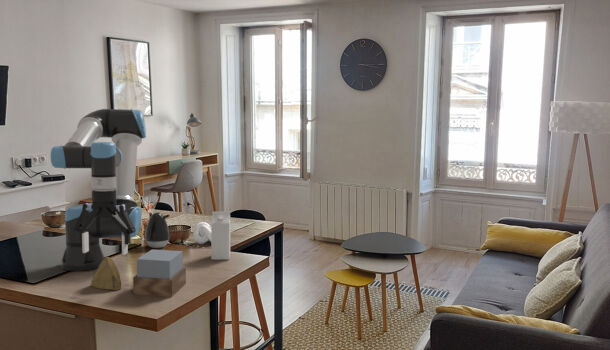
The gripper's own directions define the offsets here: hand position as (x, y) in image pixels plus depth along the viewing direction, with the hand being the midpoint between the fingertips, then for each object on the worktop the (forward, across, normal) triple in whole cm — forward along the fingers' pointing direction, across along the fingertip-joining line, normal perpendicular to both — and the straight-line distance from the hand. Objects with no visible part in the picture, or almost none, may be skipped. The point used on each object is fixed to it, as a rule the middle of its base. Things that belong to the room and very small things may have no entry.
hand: (105, 253), depth 174 cm
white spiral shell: (+11, +15, +64) cm, 67 cm away
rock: (+12, 0, +1) cm, 12 cm away
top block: (+6, +18, +2) cm, 19 cm away
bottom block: (+12, +18, +2) cm, 22 cm away
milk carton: (+12, +28, +42) cm, 52 cm away
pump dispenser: (+11, -3, +54) cm, 55 cm away
